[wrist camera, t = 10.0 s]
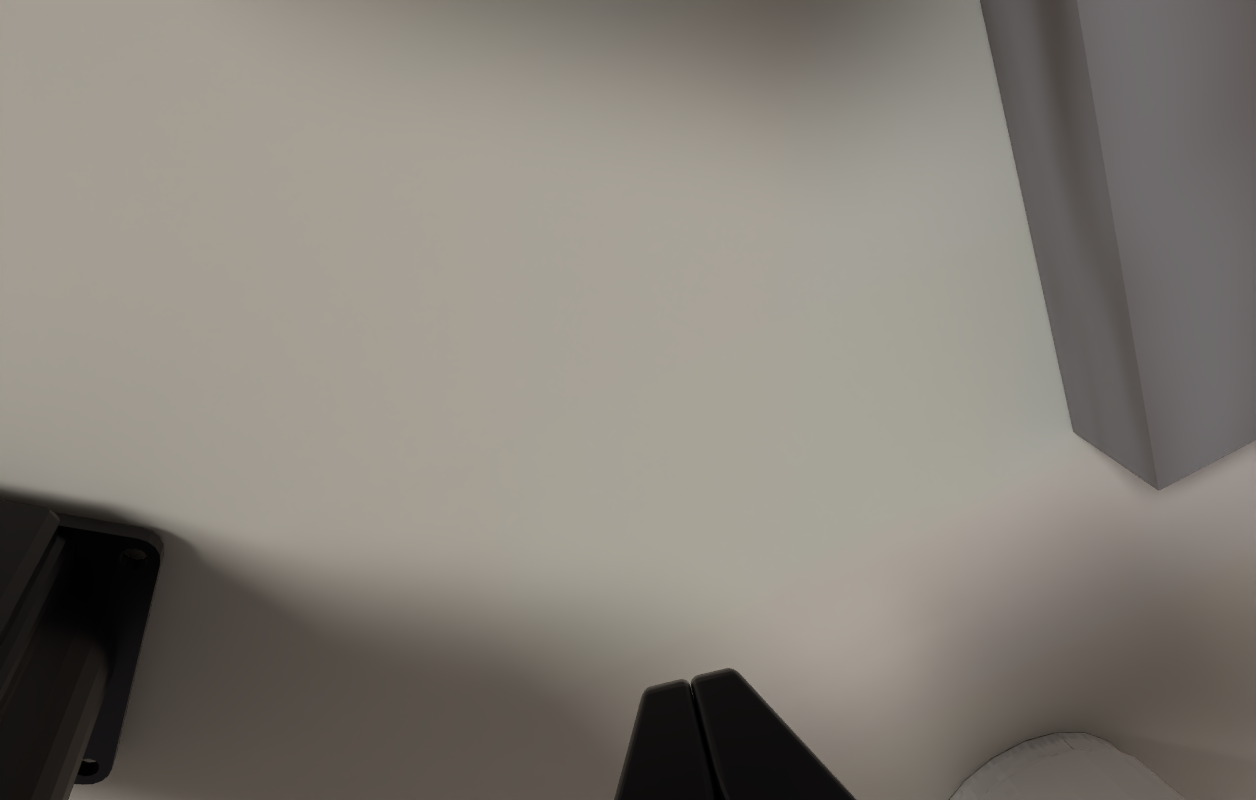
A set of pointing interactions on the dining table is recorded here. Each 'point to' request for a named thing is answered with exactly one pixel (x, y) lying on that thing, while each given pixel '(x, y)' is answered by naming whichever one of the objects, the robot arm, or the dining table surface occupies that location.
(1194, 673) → the dining table surface
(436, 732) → the dining table surface
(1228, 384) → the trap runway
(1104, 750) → the coffee cup
